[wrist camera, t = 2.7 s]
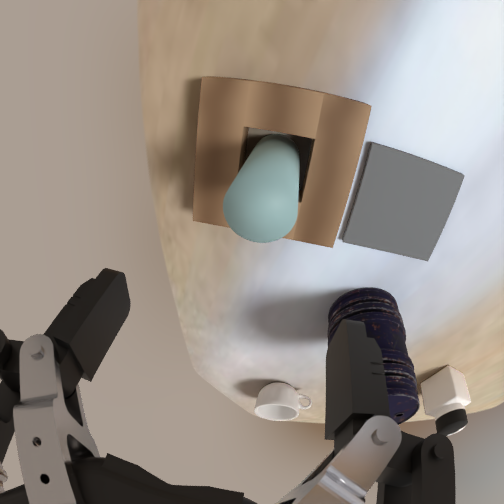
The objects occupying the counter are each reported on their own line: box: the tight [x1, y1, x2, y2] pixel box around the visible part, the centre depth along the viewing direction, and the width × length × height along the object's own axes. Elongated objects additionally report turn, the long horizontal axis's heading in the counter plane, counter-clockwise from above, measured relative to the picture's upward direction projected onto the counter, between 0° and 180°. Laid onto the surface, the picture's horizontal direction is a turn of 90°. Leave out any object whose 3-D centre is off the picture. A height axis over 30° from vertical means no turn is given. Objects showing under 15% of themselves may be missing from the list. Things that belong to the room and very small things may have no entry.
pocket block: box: [193, 77, 371, 248], centre depth 26 cm, size 14×14×3 cm
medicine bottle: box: [420, 365, 471, 436], centre depth 38 cm, size 7×7×12 cm
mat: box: [342, 142, 464, 261], centre depth 27 cm, size 11×11×1 cm
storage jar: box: [328, 288, 420, 425], centre depth 30 cm, size 10×10×15 cm
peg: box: [223, 134, 300, 243], centre depth 22 cm, size 4×4×12 cm
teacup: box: [254, 382, 312, 421], centre depth 47 cm, size 10×8×5 cm
